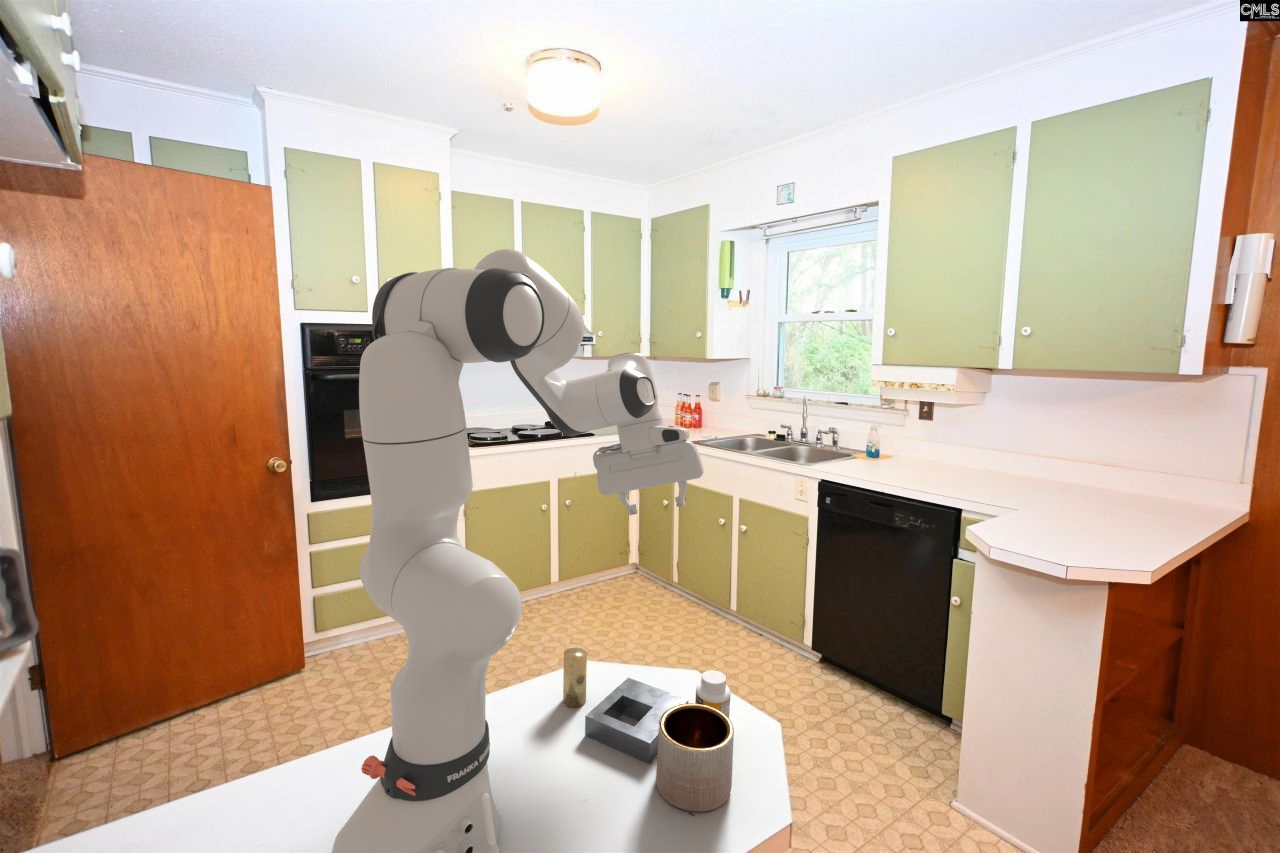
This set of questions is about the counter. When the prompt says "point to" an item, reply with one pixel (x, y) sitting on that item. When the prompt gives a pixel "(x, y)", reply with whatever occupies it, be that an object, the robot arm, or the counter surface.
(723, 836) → the counter surface
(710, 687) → the supplement bottle
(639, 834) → the counter surface
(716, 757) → the planter
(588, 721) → the jig plate
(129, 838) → the counter surface
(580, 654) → the gold round-topped cylinder
